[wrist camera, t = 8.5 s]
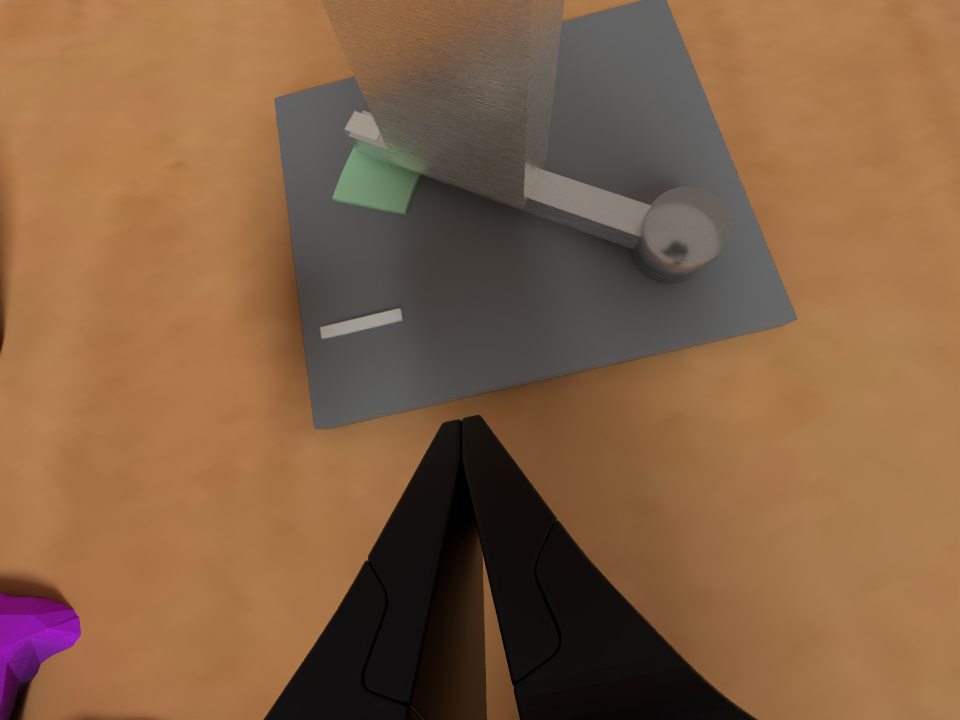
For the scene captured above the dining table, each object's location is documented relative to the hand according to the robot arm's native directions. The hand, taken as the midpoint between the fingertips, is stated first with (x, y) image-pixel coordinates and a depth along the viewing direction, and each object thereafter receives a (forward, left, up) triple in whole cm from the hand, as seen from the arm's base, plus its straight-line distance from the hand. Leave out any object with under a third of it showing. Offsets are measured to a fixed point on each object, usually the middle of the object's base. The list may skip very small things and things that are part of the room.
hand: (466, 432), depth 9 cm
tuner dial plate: (+9, -6, -8) cm, 14 cm away
